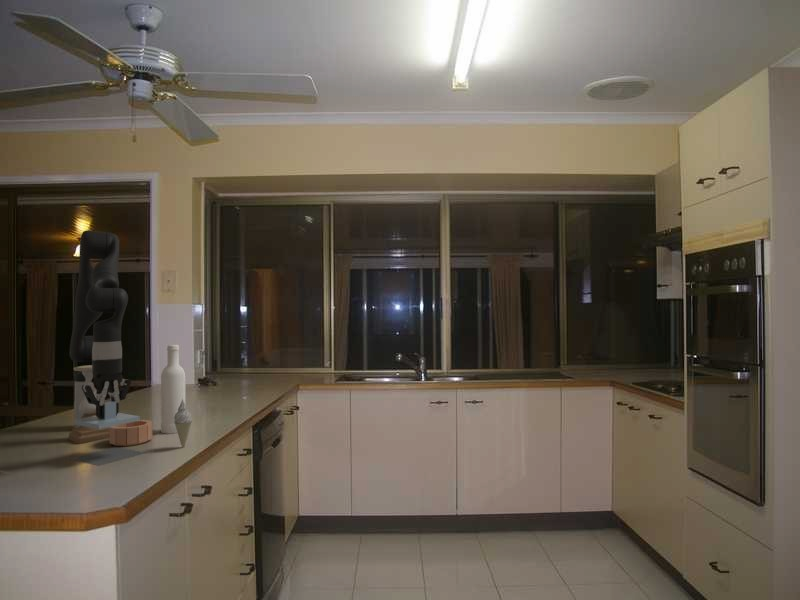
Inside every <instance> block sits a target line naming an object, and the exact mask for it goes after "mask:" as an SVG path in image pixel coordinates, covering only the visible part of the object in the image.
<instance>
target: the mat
mask: <svg viewBox="0 0 800 600" xmlns="http://www.w3.org/2000/svg"><path fill="white" fill-rule="evenodd" d="M145 454H146V452H145V451H139V450H134V449H128V448H124V447H120V446H113V447H108V448H106V449H101V450H97V451H92V452H89V453H84V454H81V455H77V456H72V457H69V458H67V459H68V460H71V461H76V462H80V463H84V464H89V465H94V466H98V467H100V466H103V465H108V464H111V463H114V462H119V461H122V460H125V459H129V458H133V457H137V456H140V455H145Z"/></svg>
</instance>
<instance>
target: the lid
mask: <svg viewBox="0 0 800 600" xmlns="http://www.w3.org/2000/svg"><path fill="white" fill-rule="evenodd" d="M103 405H104V418H103V419H99V418H98V417H96V416H93V417H87V418H82V419H77V420H74V419H73V425H74V424H75V425H80V426H85V427H90V428H95V429H102V428H107V427H111V426H116V425H121V424H125V423H130V422H135V421H139V420H141V417H140V415H134V414H127V413H122V412H118V414H117V416H116V402H115V401H111V400H106V401H105V400H104V404H103Z"/></svg>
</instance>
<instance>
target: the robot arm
mask: <svg viewBox="0 0 800 600" xmlns="http://www.w3.org/2000/svg"><path fill="white" fill-rule="evenodd" d="M79 240H80V241H79V258H78V259H79V263H78V264H79V265H78V279H77V285H76V286H77V287H76V292H75V302H74V304H75V305H74V317H73V318H74V319H73V325H72V326H73V327H72V332H71V333H72V334H71V337H70V342H69V343H70V344H69V357H70V359H71V360H72V361H73V362H74V363H80V362H81V363H82V362H86V363H87V362H91V363H92V364H91V365H92V374H93V378H92V380H91V382H90V383H89V384H87V385H84V383H85V381H86V379H85V376H84V375H83V374H82V371H76V373H75V374H74V402H73V421H74V420H77V419H81V417H82V416H83V415H84V413H82V412H80V410H79V405H80V403H81V401H82V400H83V399H84V397H85V396H86V399H87V401H88V403H89V404H94V405H95V406H96V417H98V418H99V419H103V418H104V405H103V404H104V402H105V400H106V399H105V398H106V397H107V394H108V395H109V399H110V401H115V402H116V416H117V414H118V413H120V408H119V405H120V404H119V403H120V402H121V401H122V400H125V399H126V398H127V394H128V393H129V389H130V387H131V384H132V380H131V379H128V378H126V379H125V378H123V376H122V371H123V346H122V324H123V323H122V322H123V319H124V315H125V311H126V308H127V306H128V302H129V296H128V293H127V291H126V290H125V289H123V288H121V287H119V286H120V281H119V274H118V268H119V267H118V266H119V262H120V261H119V260H120V240H119V237H118V235H117V234H115V233H112V232H107V231H100V230H99V231H98V230H84V231H83V232H82V233H81V235H80V239H79ZM91 260H100V261H99V262H98V263H96V265H94V267H93V265H92V261H91ZM103 313H113V315H112V317H110V318H108V319H104V320H99V318H100V317H102V315H103ZM97 320H98V321H97ZM92 325H93V327H92V328H93V329H92V330H93V331H92V335H86V333H87V331H88V329H90V327H91V326H92ZM93 386H94V387H95V389H96V392H95V395H94V393H93V391H92V390H93ZM119 386H120V387H119ZM95 396H96V397H95ZM79 426H80V425H75V424H74V423H73V429H74V428H78V427H79Z"/></svg>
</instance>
